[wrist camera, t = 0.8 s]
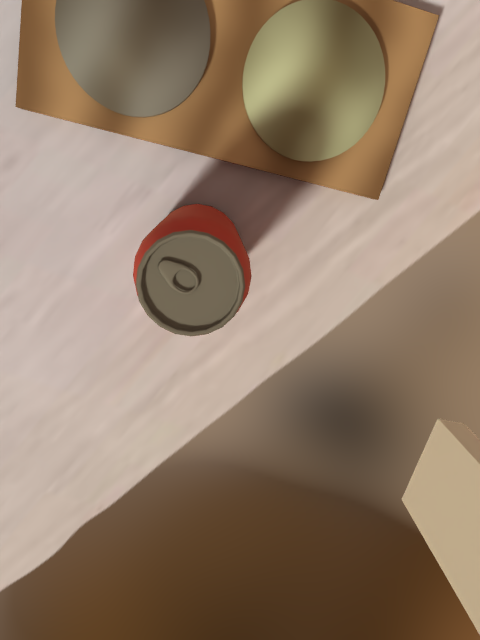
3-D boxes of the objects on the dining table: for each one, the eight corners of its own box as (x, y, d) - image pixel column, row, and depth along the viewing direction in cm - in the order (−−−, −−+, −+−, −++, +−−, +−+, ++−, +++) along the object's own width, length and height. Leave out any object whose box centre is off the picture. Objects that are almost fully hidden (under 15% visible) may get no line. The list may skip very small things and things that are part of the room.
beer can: (188, 184, 31) (174, 191, 20) (257, 238, 32) (281, 273, 21) (138, 255, 32) (99, 298, 21) (207, 303, 34) (205, 367, 23)
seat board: (22, 108, 28) (11, 105, 27) (36, -109, 25) (24, -127, 23) (373, 199, 32) (381, 200, 30) (431, 20, 28) (444, 12, 27)
